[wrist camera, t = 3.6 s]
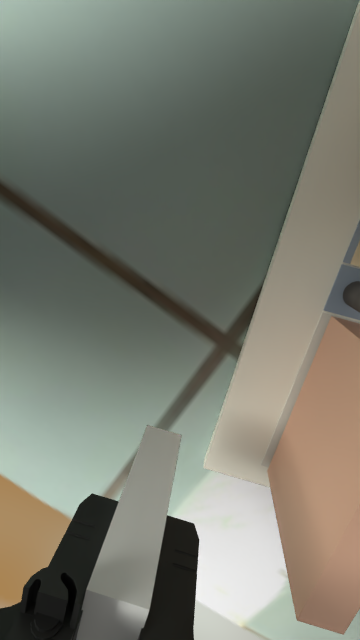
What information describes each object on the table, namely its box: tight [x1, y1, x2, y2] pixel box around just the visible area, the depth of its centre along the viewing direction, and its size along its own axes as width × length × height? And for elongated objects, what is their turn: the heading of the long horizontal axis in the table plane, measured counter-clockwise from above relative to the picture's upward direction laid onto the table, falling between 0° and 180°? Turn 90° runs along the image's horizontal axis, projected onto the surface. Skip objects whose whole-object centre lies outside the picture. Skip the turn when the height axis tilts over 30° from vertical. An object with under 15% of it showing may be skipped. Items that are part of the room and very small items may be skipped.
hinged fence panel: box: [267, 316, 360, 635], centre depth 13 cm, size 9×2×7 cm, turn 165°
